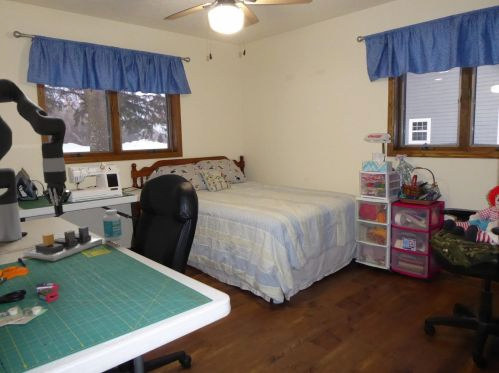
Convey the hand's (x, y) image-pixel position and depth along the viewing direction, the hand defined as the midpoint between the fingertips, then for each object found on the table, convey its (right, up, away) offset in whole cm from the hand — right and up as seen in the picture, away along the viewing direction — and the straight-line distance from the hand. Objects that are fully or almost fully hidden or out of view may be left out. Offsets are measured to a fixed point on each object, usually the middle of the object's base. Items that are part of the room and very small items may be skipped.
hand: (59, 214), depth 137 cm
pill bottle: (+11, -13, +25) cm, 30 cm away
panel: (-4, -15, +12) cm, 20 cm away
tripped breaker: (-7, -12, +5) cm, 15 cm away
